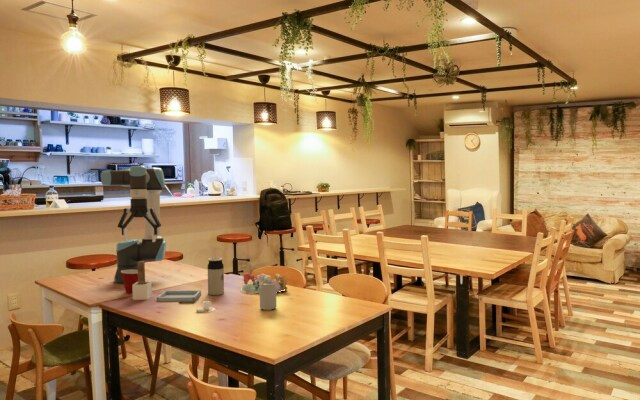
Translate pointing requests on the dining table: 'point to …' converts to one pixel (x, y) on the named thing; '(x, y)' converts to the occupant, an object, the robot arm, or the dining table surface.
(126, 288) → the plastic cup
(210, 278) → the travel mug
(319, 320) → the dining table surface
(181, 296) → the tray
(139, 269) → the dowel
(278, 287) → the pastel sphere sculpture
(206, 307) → the cream curved piece
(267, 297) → the can
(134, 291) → the square open box
